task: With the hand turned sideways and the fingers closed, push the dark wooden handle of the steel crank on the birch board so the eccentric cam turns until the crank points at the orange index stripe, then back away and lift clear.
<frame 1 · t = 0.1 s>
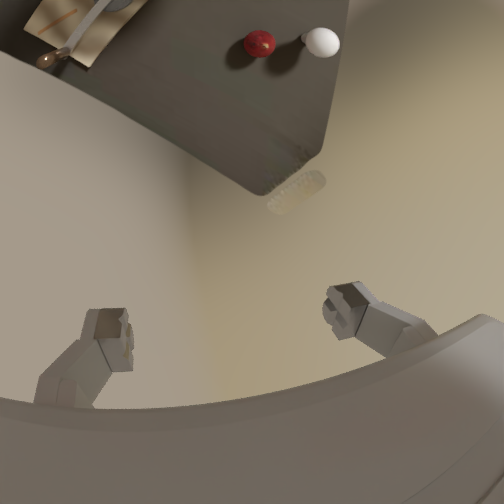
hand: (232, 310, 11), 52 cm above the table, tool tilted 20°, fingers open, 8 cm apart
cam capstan: (86, 16, 24), point 8 cm above the table, hinge at 0.0°
stand: (90, 0, 26), on the table
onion: (254, 42, 43), on the table
lightbulb: (305, 37, 43), on the table
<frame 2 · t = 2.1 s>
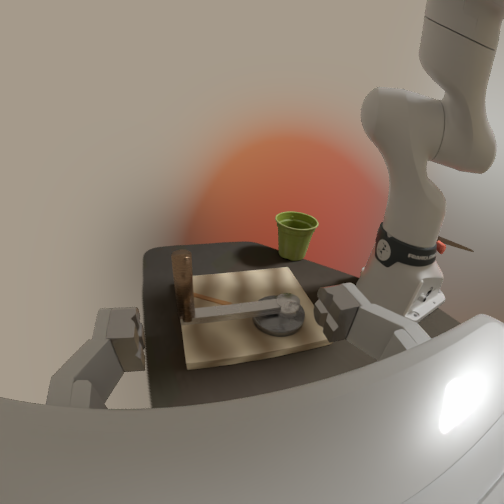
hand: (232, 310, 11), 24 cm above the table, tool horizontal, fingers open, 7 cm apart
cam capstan: (245, 290, 38), point 8 cm above the table, hinge at 0.0°
stand: (247, 312, 46), on the table
plant pot: (291, 255, 64), on the table
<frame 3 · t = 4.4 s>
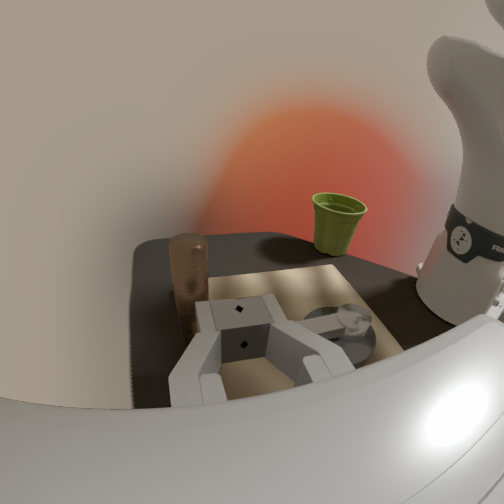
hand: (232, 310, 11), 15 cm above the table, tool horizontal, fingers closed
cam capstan: (297, 303, 22), point 8 cm above the table, hinge at 0.0°
stand: (286, 333, 30), on the table
plant pot: (330, 249, 48), on the table
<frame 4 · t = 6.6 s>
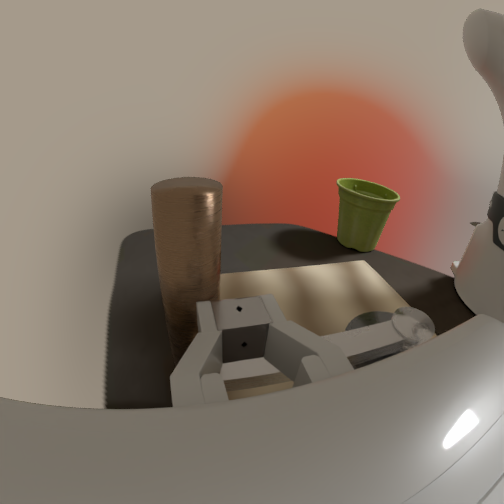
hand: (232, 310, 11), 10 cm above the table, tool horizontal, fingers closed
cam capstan: (353, 306, 14), point 8 cm above the table, hinge at -1.4°, touching gripper
stand: (318, 348, 22), on the table
plant pot: (355, 244, 40), on the table
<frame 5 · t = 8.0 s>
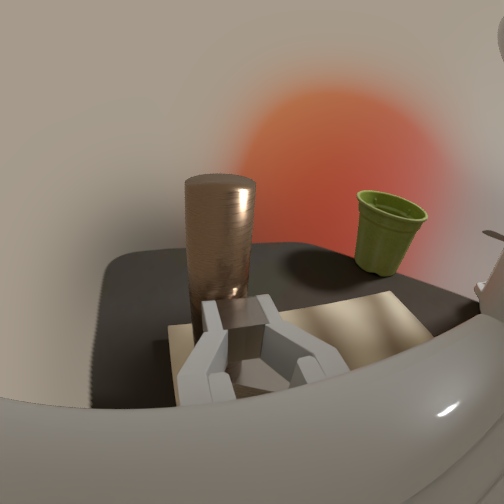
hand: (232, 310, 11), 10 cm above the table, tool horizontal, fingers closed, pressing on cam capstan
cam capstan: (394, 350, 11), point 8 cm above the table, hinge at -28.2°, touching gripper
stand: (347, 412, 16), on the table
plant pot: (375, 266, 34), on the table
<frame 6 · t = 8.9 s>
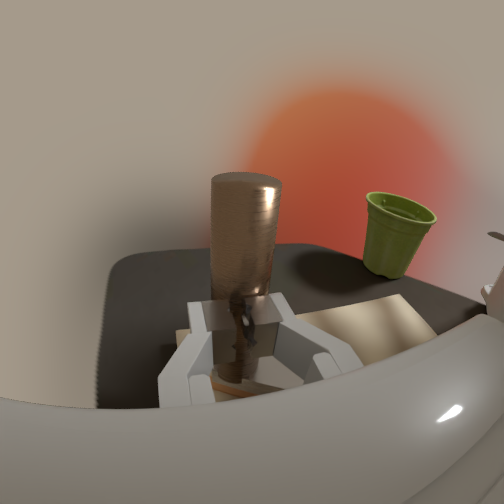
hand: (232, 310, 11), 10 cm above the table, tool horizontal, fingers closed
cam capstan: (409, 352, 11), point 8 cm above the table, hinge at -31.3°, touching gripper
stand: (358, 418, 15), on the table
plant pot: (383, 268, 34), on the table
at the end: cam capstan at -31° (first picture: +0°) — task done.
